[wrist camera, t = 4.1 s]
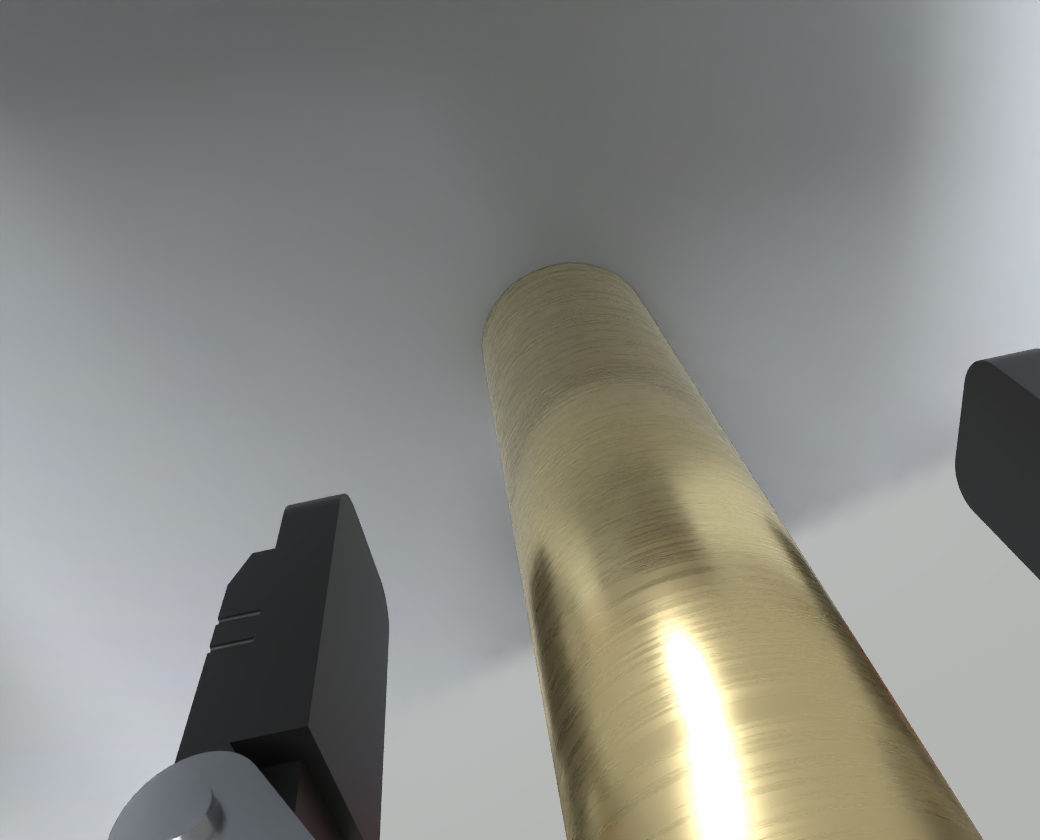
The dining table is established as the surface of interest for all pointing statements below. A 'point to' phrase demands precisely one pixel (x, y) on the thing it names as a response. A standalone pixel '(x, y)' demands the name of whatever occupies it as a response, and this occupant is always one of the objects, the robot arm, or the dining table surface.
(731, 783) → the pin
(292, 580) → the robot arm
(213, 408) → the dining table surface
